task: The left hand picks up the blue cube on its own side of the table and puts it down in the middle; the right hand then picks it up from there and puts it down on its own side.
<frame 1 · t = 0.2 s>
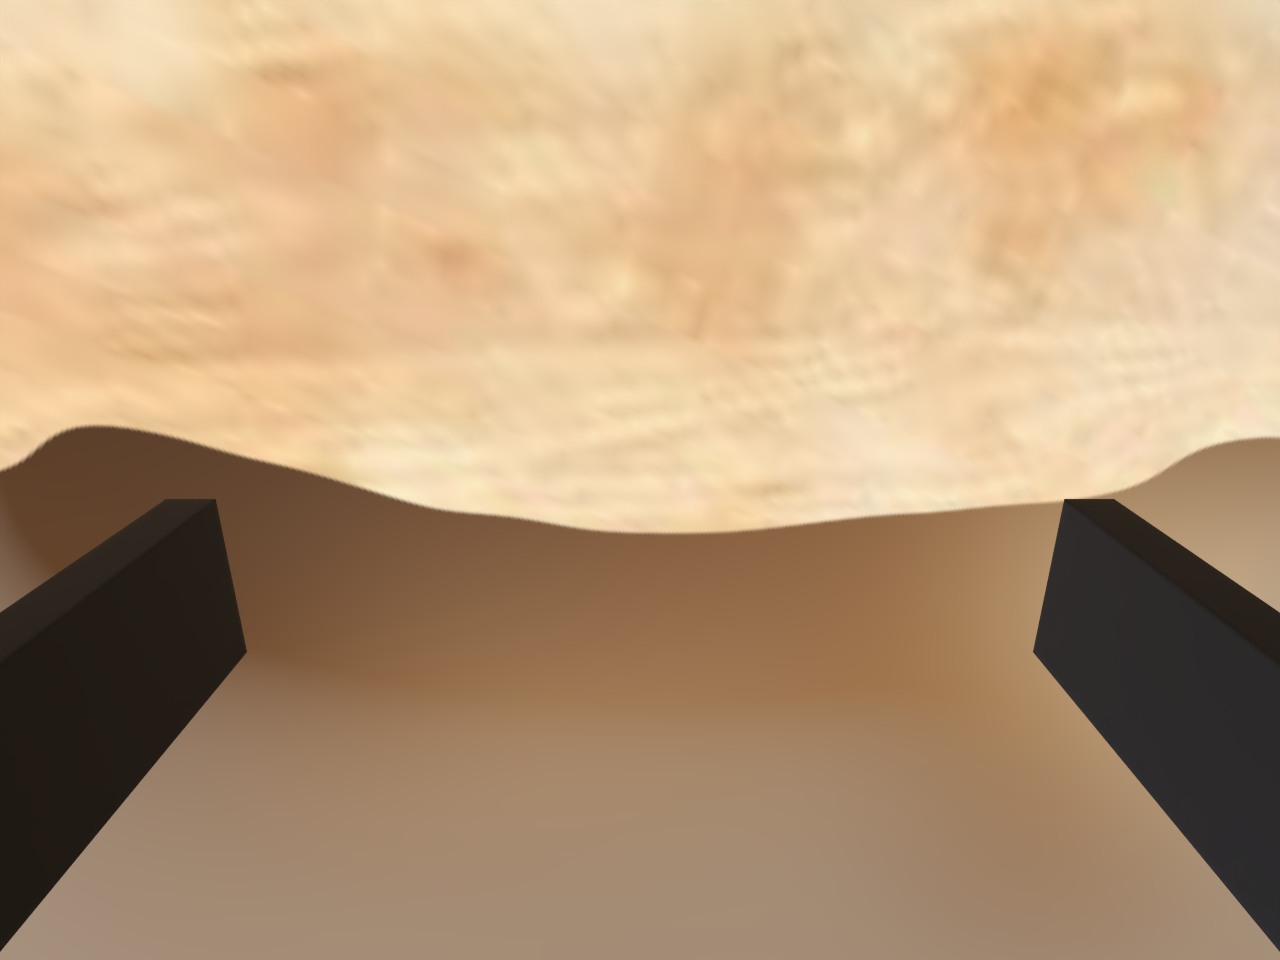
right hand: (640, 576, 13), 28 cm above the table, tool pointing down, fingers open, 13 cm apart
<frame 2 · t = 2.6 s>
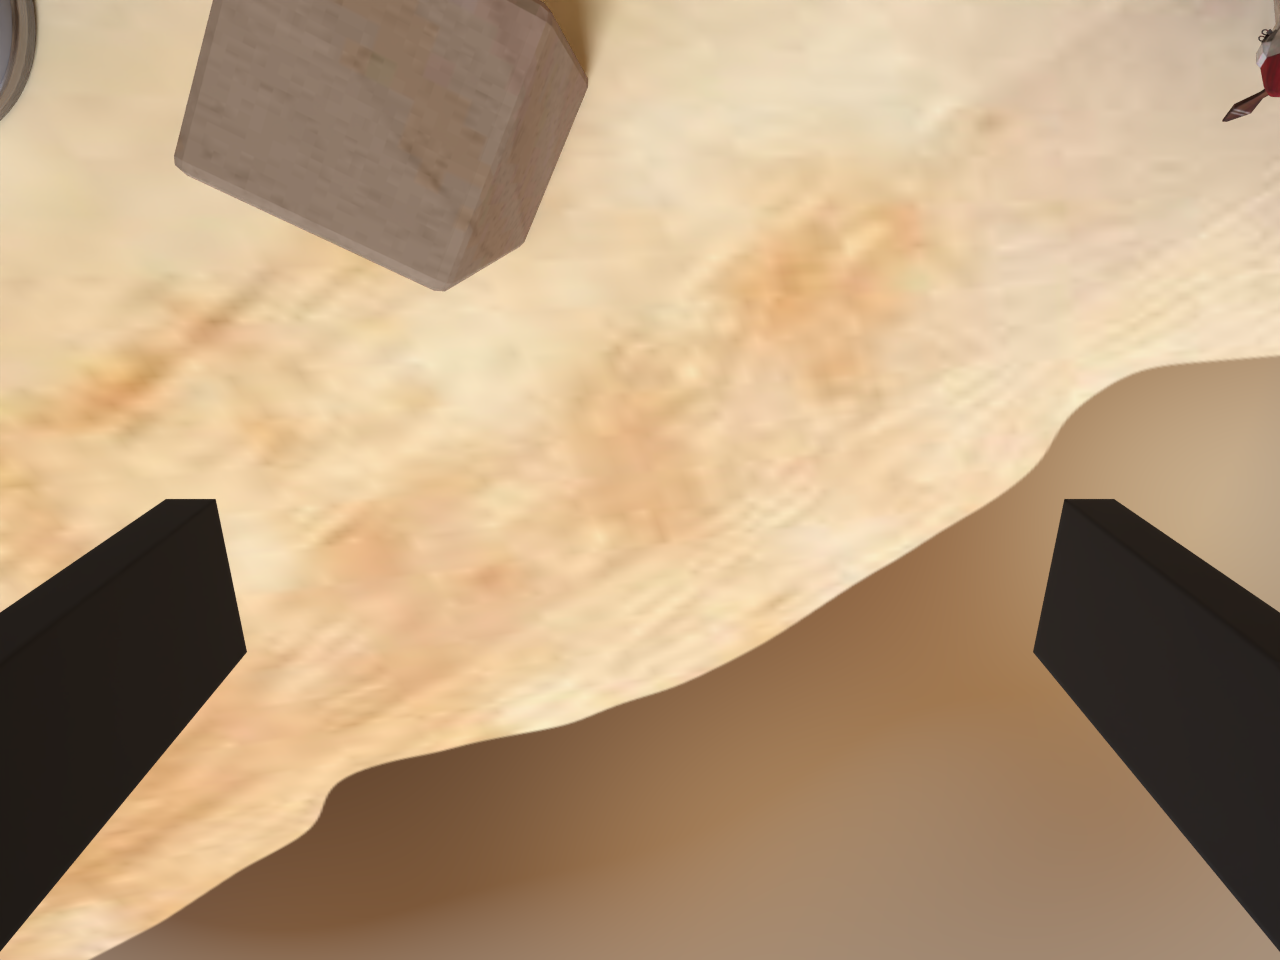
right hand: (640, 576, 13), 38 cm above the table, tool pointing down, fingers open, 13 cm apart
wooden block: (474, 125, 45), on the table
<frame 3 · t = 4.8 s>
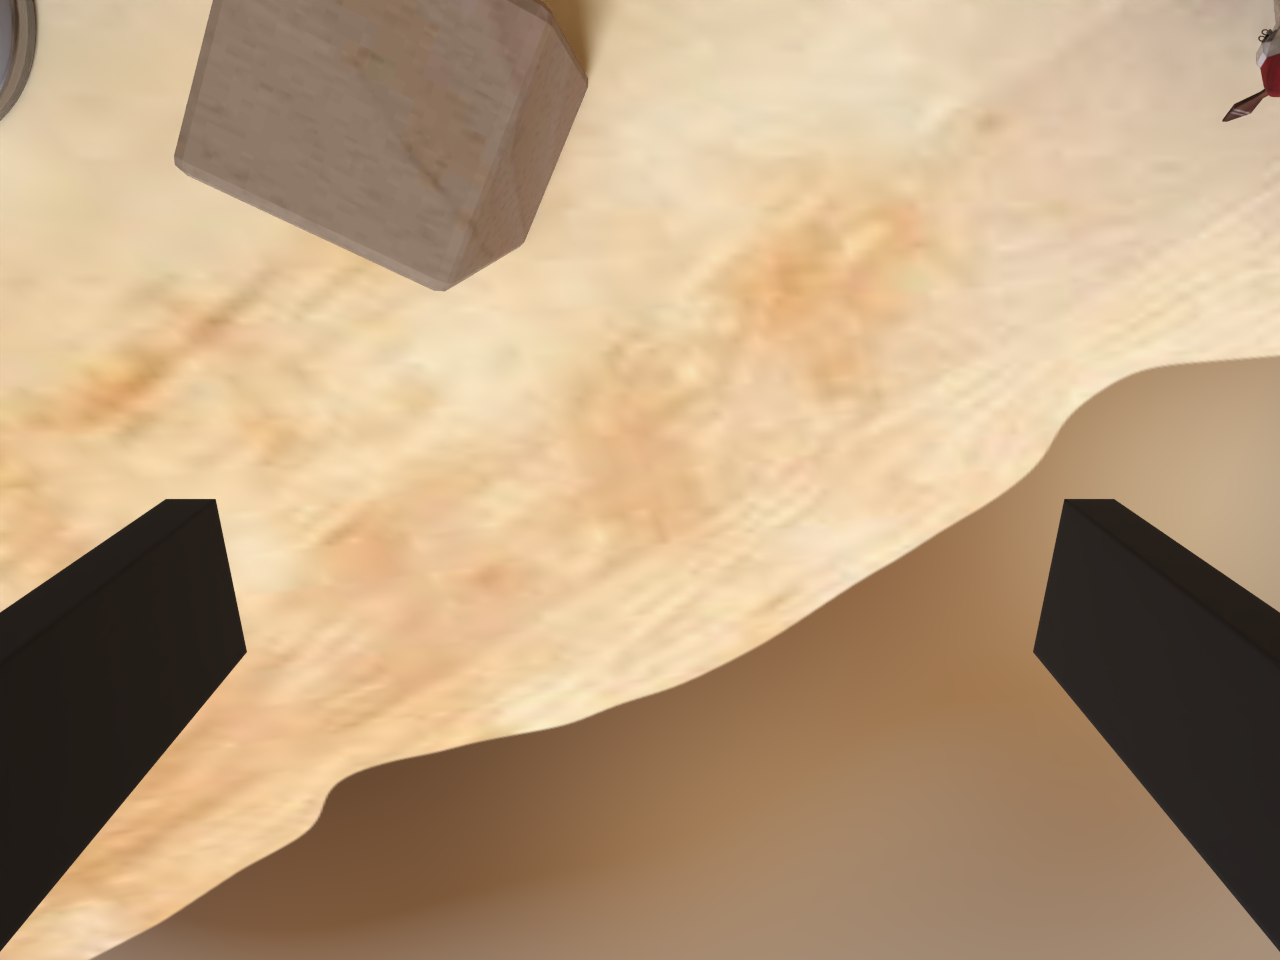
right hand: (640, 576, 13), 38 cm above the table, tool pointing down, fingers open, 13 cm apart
wooden block: (474, 125, 45), on the table
when the left hand's fingers open (1 cm above the table, at t = 6.8 s): blue cube stays where it is, on the table.
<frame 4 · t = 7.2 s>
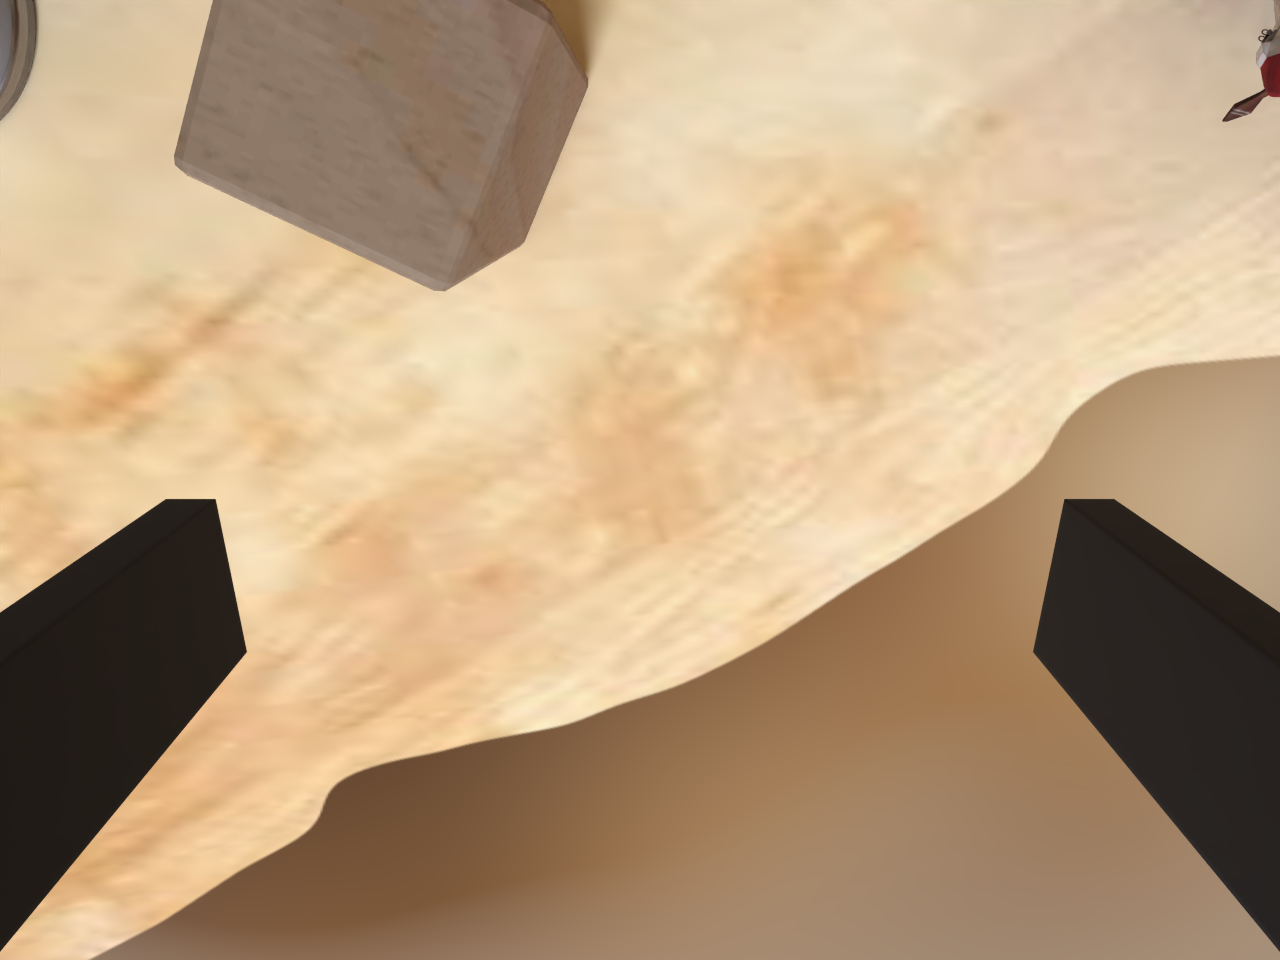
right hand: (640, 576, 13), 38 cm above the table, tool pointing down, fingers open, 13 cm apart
wooden block: (474, 125, 45), on the table
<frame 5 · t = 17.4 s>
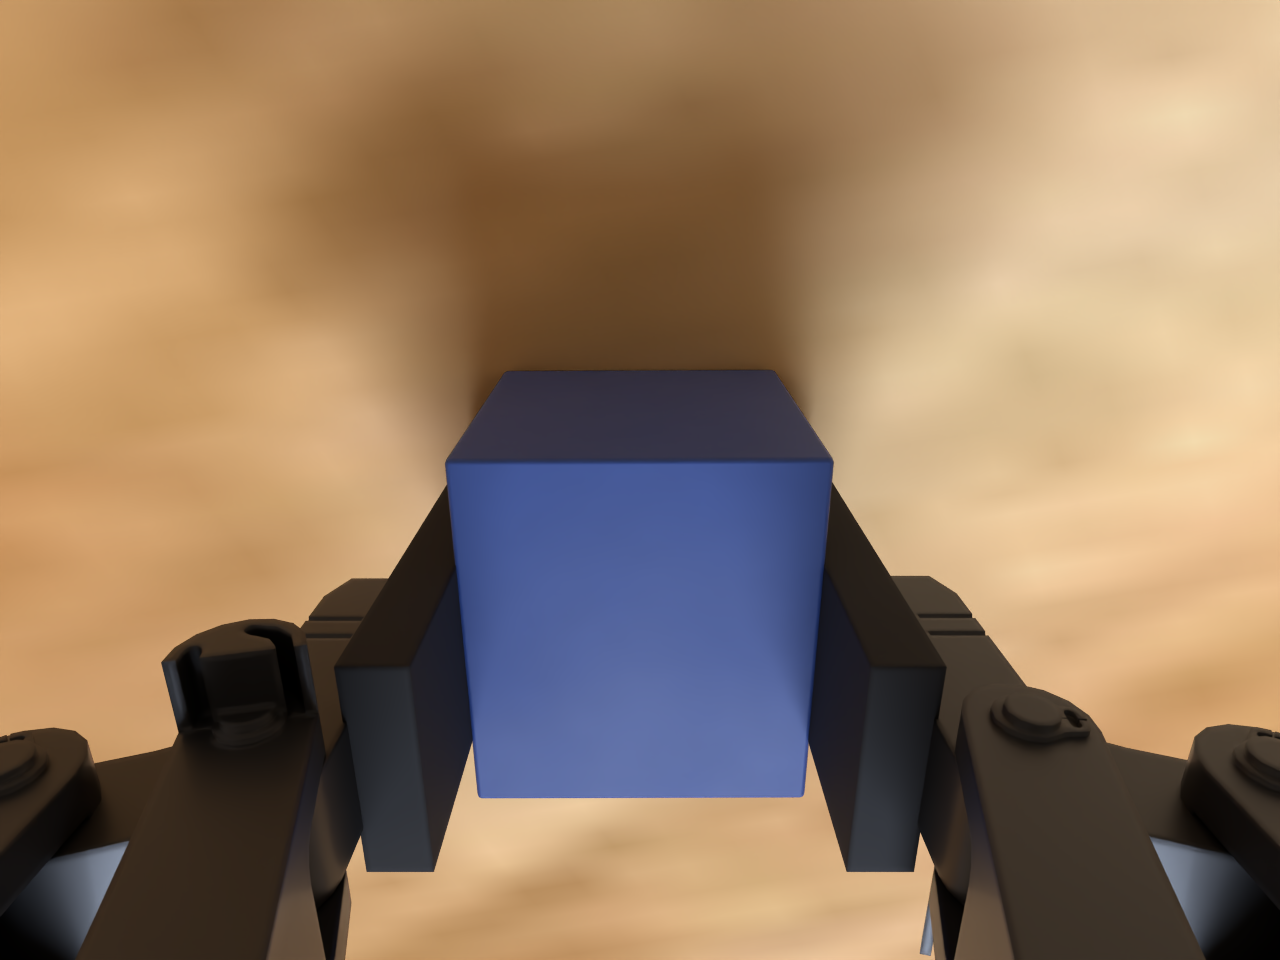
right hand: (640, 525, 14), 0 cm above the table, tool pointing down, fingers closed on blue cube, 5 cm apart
blue cube: (640, 507, 15), on the table, touching right hand
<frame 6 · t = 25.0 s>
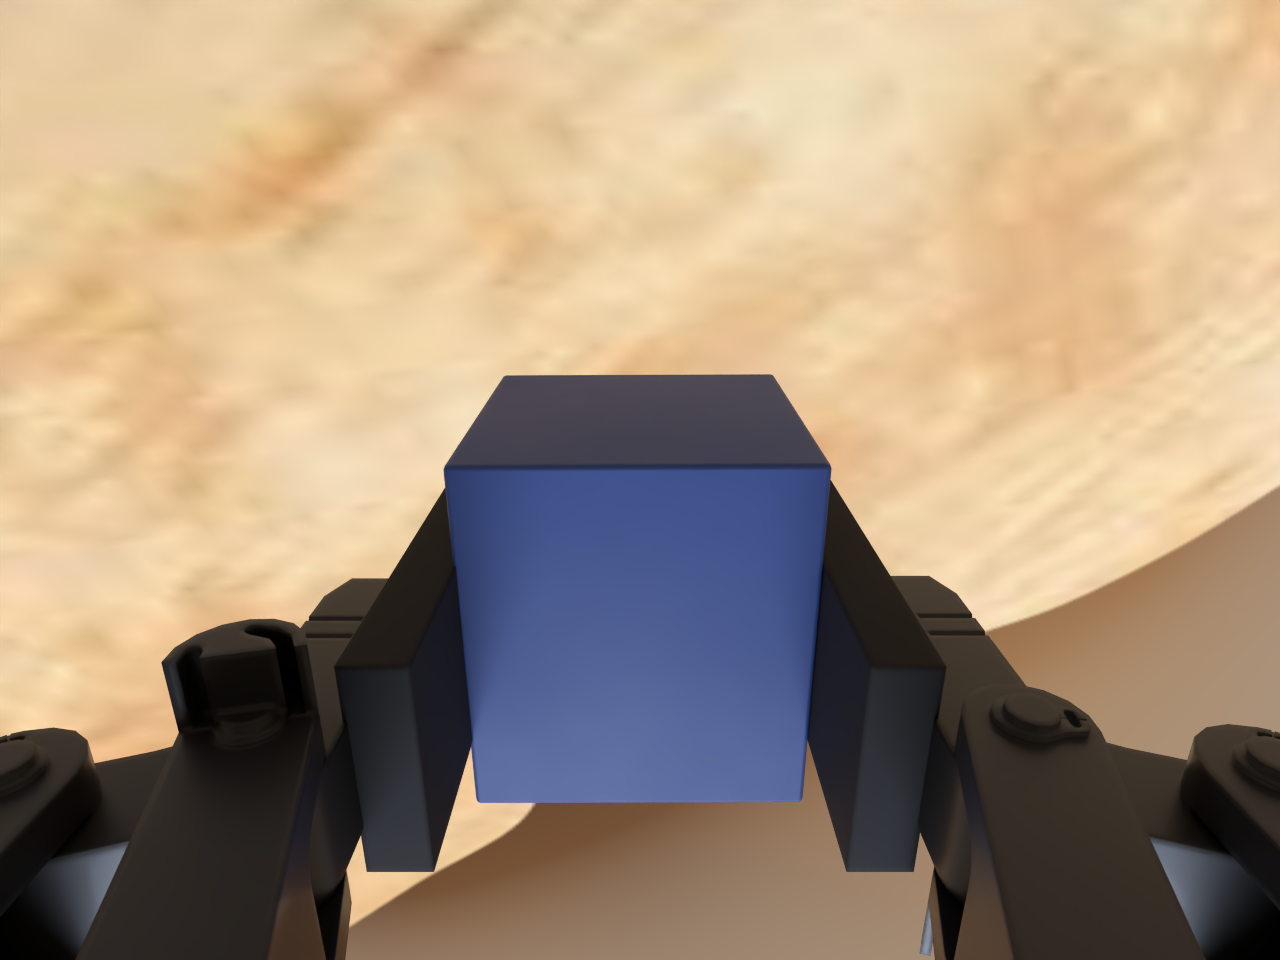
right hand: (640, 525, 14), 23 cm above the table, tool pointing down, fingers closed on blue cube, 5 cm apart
blue cube: (639, 511, 15), point 23 cm above the table, touching right hand
when the right hand's fingers open (1 cm above the table, at t = 33.1 s): blue cube stays where it is, on the table.
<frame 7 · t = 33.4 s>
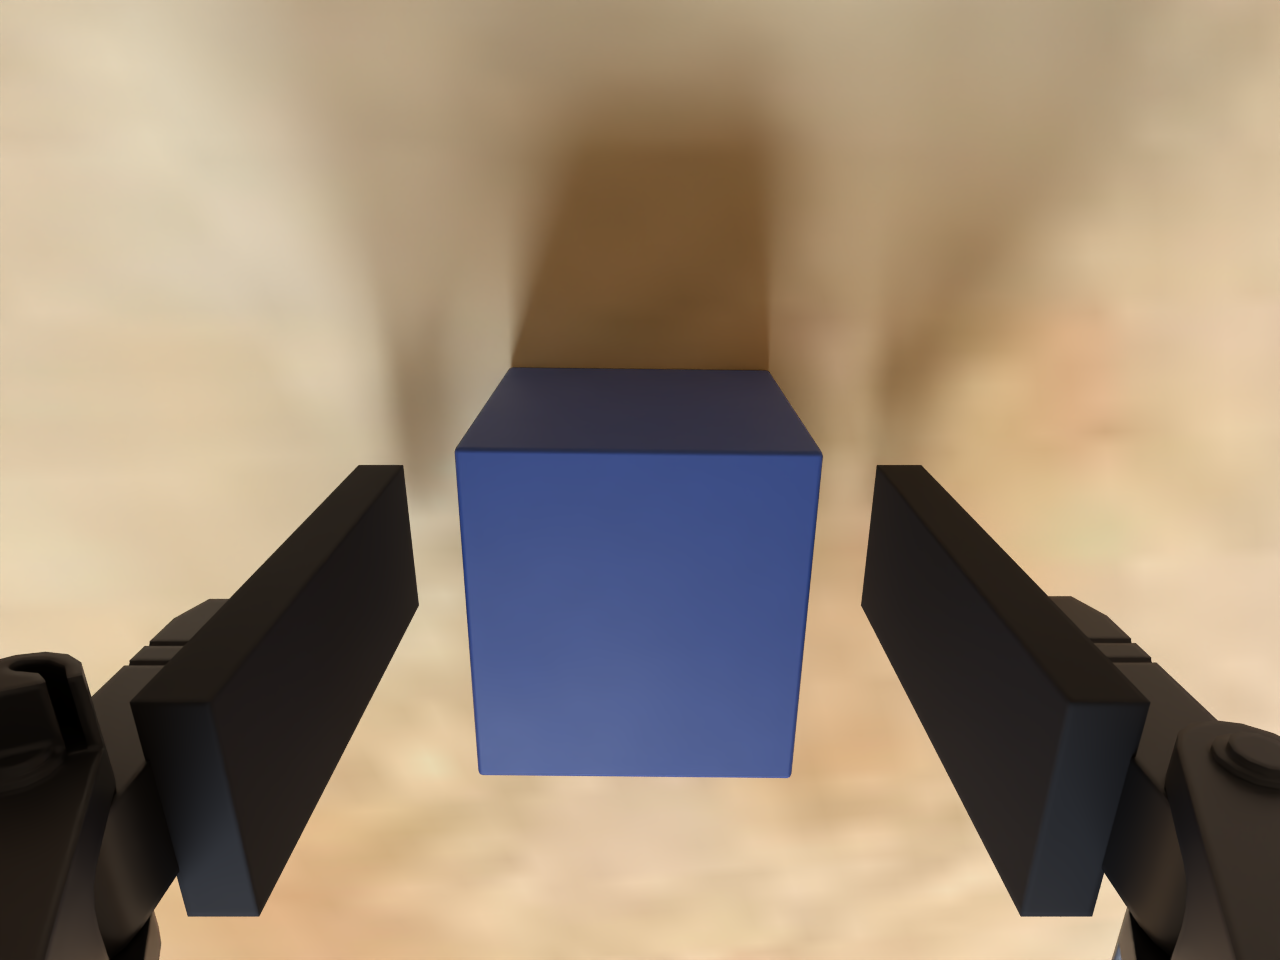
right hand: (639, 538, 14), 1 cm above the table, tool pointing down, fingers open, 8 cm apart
blue cube: (637, 501, 15), on the table
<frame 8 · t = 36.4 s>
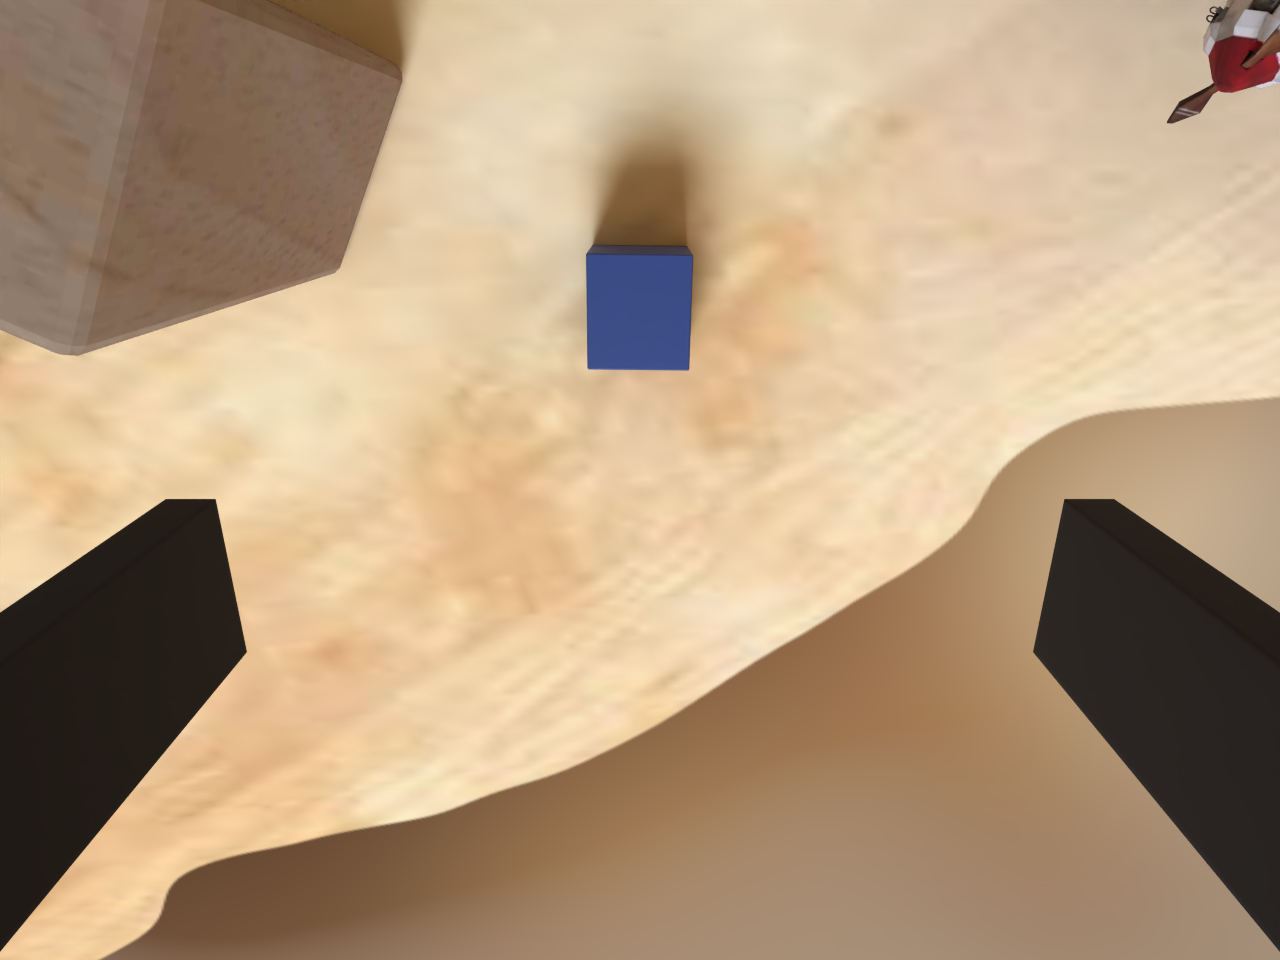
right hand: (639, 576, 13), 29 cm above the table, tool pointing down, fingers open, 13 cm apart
blue cube: (639, 298, 40), on the table
wooden block: (272, 128, 37), on the table
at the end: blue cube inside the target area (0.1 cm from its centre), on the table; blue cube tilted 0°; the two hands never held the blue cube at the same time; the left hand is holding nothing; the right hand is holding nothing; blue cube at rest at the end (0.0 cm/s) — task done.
